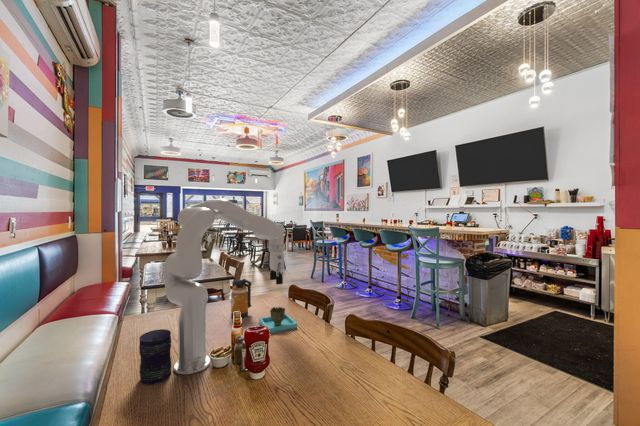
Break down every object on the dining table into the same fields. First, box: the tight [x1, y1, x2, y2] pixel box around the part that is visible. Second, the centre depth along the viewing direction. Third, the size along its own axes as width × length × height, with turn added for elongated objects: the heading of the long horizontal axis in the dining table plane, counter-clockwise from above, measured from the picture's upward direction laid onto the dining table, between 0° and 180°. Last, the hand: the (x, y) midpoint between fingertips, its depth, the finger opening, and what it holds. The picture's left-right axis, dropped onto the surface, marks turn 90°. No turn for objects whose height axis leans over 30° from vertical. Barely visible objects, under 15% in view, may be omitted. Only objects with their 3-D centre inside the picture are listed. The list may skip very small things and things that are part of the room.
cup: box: [269, 306, 286, 326], centre depth 148 cm, size 8×7×8 cm
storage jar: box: [138, 328, 172, 386], centre depth 104 cm, size 10×10×15 cm
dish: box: [258, 313, 298, 335], centre depth 148 cm, size 15×15×2 cm
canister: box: [230, 278, 253, 318], centre depth 163 cm, size 9×11×20 cm
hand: (276, 281), depth 148 cm, fingers open, 9 cm apart
